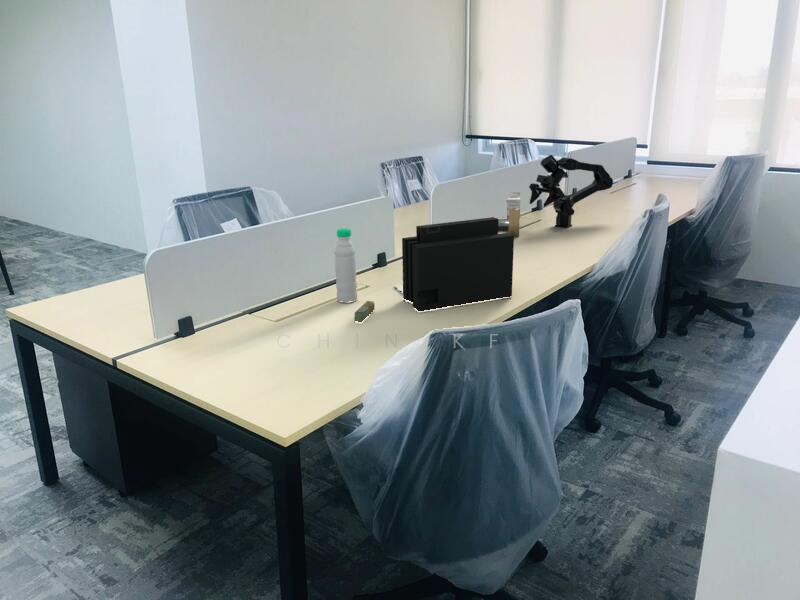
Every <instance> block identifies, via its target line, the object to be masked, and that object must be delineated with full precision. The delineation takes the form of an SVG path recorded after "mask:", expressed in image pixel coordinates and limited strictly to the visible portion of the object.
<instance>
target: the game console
mask: <svg viewBox="0 0 800 600" xmlns="http://www.w3.org/2000/svg"><path fill="white" fill-rule="evenodd" d="M499 219H500V218H497V217H494V216H493V217H492V216H491V217H485V218H484V217H483V218H475V219H473V218H472V219H467V220H458V221H449V222H441V223H439V222H438V223H434V224H433V223H432V224H423V225H416V233H415V235H416V236H409V237H408V236H406V237H402V238H401V251H402V253H401V254H402V255H401V256H402V285H403V294H402V297H403V298H404V299H406V300H409V301H411V302H413V305H412V308H413V307H414V308H416V309H417V310H418V311H424V310H430V309H436V308H442V307H447V306H454V305H461V304H466V303H472V302H478V301H484V300H490V299H496V298H503V297H510V296H512V297H513V275H514V273H513V271H514V249H515V248H514V246H515V245H514V243H515V242H514V241H515V238H514V235H511V234H509V233H508V232H503V233H499V230H498V220H499ZM403 298H402V299H403Z"/></svg>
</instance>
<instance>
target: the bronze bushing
mask: <svg viewBox="0 0 800 600" xmlns="http://www.w3.org/2000/svg"><path fill="white" fill-rule="evenodd" d="M520 219H521V208H520V209H519V208H509V227H508V230H507V231H508V232H507V233H509V234H511V235H514V237H516V238H520Z"/></svg>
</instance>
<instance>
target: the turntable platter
mask: <svg viewBox="0 0 800 600" xmlns="http://www.w3.org/2000/svg"><path fill="white" fill-rule="evenodd" d="M498 219H499V220H498V227H509V219H503V218H498Z"/></svg>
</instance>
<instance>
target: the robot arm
mask: <svg viewBox="0 0 800 600" xmlns="http://www.w3.org/2000/svg"><path fill="white" fill-rule="evenodd" d="M540 166H541V167H542V168H543V169H544V170H545V172H547V173H549V174H550V175H549V174H548V175H543V174H537V177H536V180H535V181H536V182H538V183H540V184H538V183H534V182H533V183H532V182H531V183H530V185H529V186H528V188H529V190H530V191H531V194H530V195H531V196H530V199H529V202H528V203H529V205H532V204H533V203H535V201H536V200H538V199H539V197H540V196H541V195H542V193H546V194H548V195H547V198H546V199H545V200H544V203H543V205H542V206H543V207H544V208H545V207H547V206H549V205H551V204H552V203H553V204H552V206H553V209H554V212H555V213H556V217H555V224H554V227H558V228H565V229H567V228H569V227H572V226H573V224H572V216H574V214H575V209H574V208H573V207H574V206H575V205H576V203H578V202H580V201H583V200H584V199H586V198H588V197H590V196H591V195H594V194H595V193H597V192H602V191H606V190H609V189H611V188H612V187H613V185H614V180H613V178H612V177H611V176H610V174H609V173H608V171H607V170H606V169H605V168H604V167H605V166H603V165H602V164H599V163H598V164H597V163H588V162H583V161H578V160H577V159H575V158H571V157H565V156H564V157H563V156H562V157H561V158H560V159H556V158H555V156H554V155H553V154H549V155H548V156H545V157H544V158H543V159H542V160H541V161H540ZM576 170H577V171H578V170H581V171H586V172H592V174H593V178H594V179H593V181H592V182H591V183H590V184H588V185H587V186H585V187H583V188H582V189H579V190H578V191H576V192H574V193H572V194H570V195H568V194H565V193H564V191H563V190H562V189H561V186H560V183H561V181H562V180H563V179H568V178H569V175H568V171H576Z"/></svg>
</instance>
